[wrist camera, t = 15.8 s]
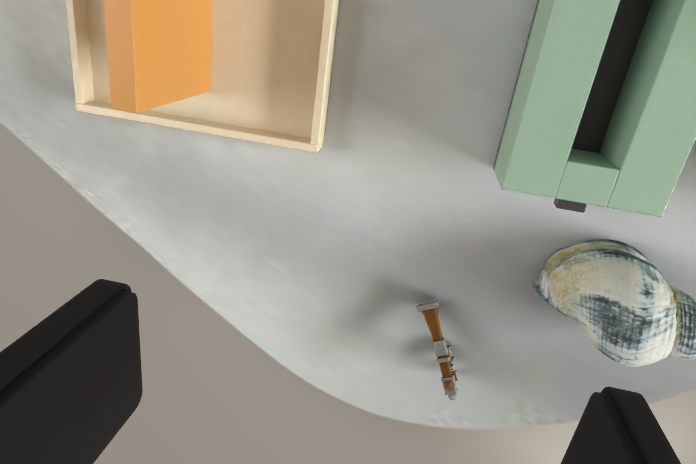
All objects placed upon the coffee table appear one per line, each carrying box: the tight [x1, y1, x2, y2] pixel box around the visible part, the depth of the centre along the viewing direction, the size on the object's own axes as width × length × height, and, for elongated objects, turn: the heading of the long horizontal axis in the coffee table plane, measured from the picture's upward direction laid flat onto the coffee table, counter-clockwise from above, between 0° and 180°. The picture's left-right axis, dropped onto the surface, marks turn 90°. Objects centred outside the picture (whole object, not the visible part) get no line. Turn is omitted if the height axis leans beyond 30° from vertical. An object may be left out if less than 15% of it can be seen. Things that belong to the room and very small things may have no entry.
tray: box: [66, 0, 339, 153], centre depth 34 cm, size 15×19×2 cm
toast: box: [104, 0, 212, 113], centre depth 30 cm, size 9×2×10 cm, turn 172°
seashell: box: [533, 240, 696, 366], centre depth 35 cm, size 6×8×12 cm
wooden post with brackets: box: [416, 300, 458, 400], centre depth 41 cm, size 2×8×4 cm, turn 21°
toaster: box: [493, 0, 696, 217], centre depth 30 cm, size 17×10×5 cm, turn 172°
